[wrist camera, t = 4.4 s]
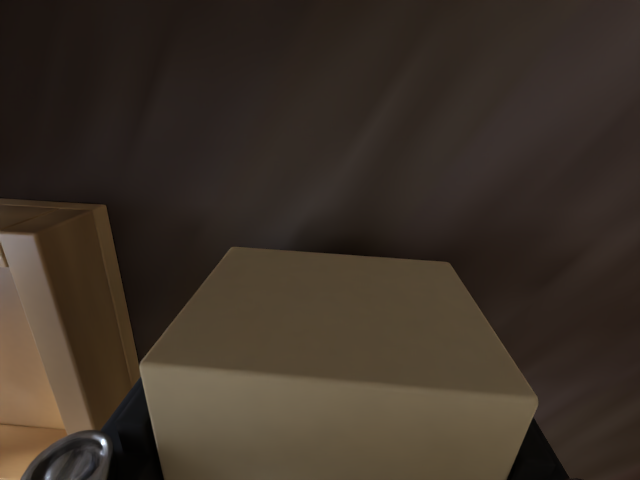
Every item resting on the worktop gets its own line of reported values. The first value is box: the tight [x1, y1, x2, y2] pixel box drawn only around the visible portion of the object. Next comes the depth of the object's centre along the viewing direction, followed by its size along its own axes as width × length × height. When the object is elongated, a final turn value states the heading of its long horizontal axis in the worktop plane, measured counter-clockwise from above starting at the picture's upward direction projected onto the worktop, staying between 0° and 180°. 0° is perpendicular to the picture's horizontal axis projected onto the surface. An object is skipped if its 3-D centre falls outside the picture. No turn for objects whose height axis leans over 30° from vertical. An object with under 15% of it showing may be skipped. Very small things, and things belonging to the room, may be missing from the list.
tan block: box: [139, 247, 538, 480], centre depth 8 cm, size 6×6×4 cm
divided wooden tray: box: [0, 198, 141, 480], centre depth 13 cm, size 10×20×3 cm, turn 177°
